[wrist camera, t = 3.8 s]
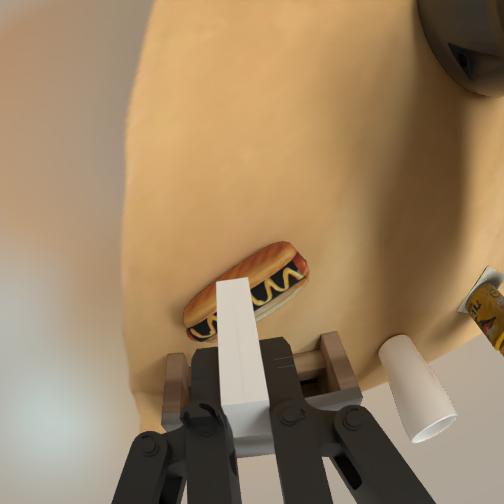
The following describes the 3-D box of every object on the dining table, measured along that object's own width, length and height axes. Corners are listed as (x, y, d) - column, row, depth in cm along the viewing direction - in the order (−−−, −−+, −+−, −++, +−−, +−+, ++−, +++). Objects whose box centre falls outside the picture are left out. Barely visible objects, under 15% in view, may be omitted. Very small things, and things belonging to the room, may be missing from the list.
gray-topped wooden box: (167, 354, 35) (161, 424, 27) (336, 331, 36) (363, 397, 27) (191, 402, 42) (190, 460, 33) (328, 383, 42) (346, 439, 34)
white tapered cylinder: (400, 322, 37) (449, 412, 24) (419, 337, 39) (463, 415, 27) (363, 353, 39) (401, 443, 27) (387, 364, 42) (422, 444, 29)
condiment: (456, 310, 38) (496, 367, 28) (486, 265, 34) (536, 318, 24) (477, 315, 40) (513, 365, 30) (505, 274, 36) (548, 322, 26)
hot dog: (311, 257, 30) (325, 288, 26) (209, 323, 33) (209, 358, 29) (282, 222, 28) (294, 250, 23) (177, 297, 31) (172, 332, 27)
